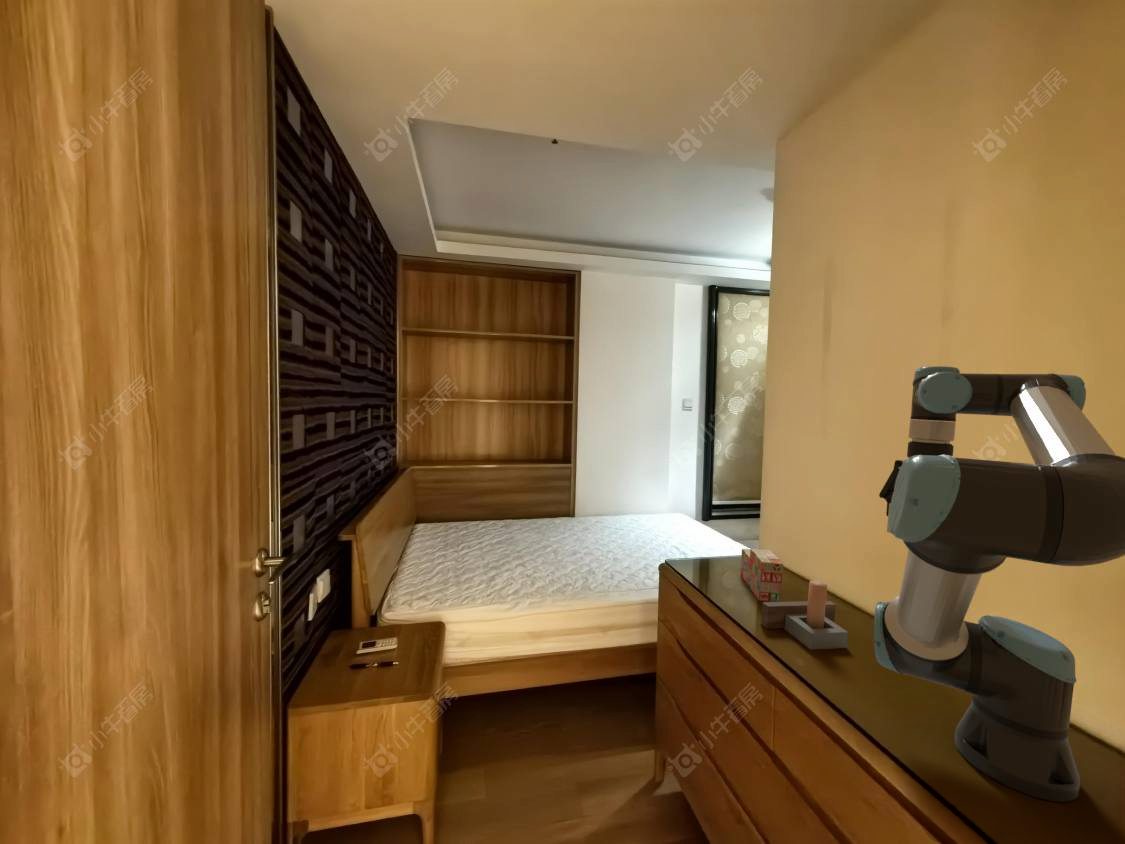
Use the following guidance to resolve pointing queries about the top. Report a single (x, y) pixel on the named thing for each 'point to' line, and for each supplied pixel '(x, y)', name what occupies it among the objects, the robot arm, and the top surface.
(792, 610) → the wall
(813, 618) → the dowel
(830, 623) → the grey square frame
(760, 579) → the stack of blocks
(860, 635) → the top surface
